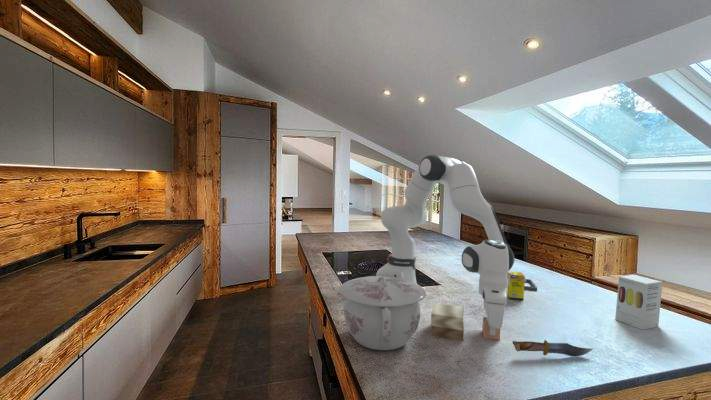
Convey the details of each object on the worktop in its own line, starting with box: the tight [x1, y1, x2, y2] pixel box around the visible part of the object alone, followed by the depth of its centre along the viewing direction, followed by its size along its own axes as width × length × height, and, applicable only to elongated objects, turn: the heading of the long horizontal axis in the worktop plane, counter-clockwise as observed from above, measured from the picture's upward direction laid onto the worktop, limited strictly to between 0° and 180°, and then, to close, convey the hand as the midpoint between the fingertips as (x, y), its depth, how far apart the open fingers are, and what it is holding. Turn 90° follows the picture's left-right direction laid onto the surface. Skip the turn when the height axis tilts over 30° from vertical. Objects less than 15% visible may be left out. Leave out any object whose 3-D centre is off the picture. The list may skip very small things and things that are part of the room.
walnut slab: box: [431, 325, 465, 342], centre depth 113 cm, size 10×10×4 cm
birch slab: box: [430, 302, 464, 330], centre depth 112 cm, size 10×10×4 cm
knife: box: [511, 339, 593, 358], centre depth 98 cm, size 25×1×5 cm, turn 92°
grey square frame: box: [524, 278, 538, 291], centre depth 164 cm, size 14×14×2 cm
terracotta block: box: [481, 316, 501, 341], centre depth 111 cm, size 5×5×5 cm
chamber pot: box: [339, 275, 427, 351], centre depth 106 cm, size 28×28×21 cm
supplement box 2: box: [614, 274, 663, 331], centre depth 122 cm, size 10×9×17 cm
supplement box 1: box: [507, 270, 526, 301], centre depth 146 cm, size 6×6×11 cm
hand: (491, 329), depth 111 cm, fingers closed on terracotta block, 5 cm apart
